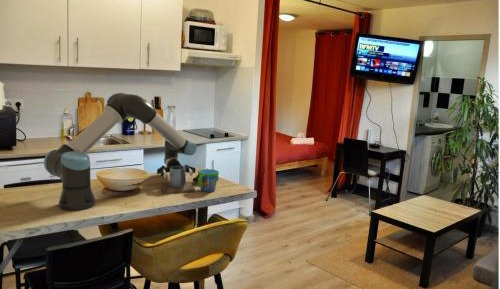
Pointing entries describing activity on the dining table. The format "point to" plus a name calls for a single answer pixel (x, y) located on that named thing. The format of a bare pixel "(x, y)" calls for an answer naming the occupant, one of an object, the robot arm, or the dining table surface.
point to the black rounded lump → (196, 178)
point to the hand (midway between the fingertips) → (178, 174)
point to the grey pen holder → (177, 177)
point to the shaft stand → (168, 189)
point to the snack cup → (207, 179)
